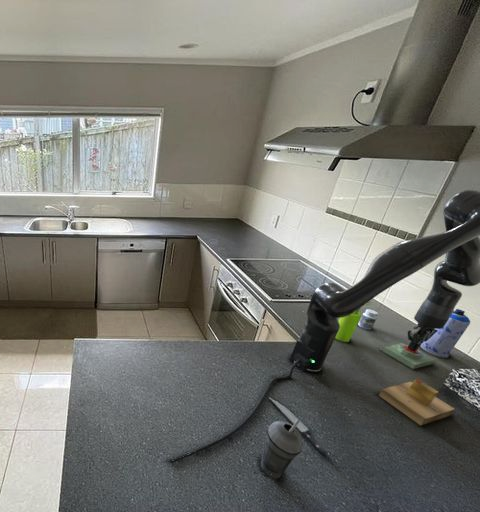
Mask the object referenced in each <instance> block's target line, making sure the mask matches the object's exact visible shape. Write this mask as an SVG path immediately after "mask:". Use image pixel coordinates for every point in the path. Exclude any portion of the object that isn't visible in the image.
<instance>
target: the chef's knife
mask: <svg viewBox="0 0 480 512" xmlns="http://www.w3.org/2000/svg"><path fill="white" fill-rule="evenodd" d="M269 400H270V401H271V402H272V403H273V404H274V405H275V406H276V407H277V408H278V410H279V411H280V412H281V413H282V414H283V415H284V416H285V417H286V418H287V419H288V420H289V421H290V422H291V424H292V425H294V423H295V422H296V421H297V419H298V417H297V416H296V415H295V414H294V413H293V412H291V411H290V410H289V409H288V408H287V407H285V405H282V404H281V403H280V402H278V401H277V400H275V399H273V398H271V397H269ZM295 428H296V429H297V430H298V431H299V433H300V434H301V435H303V436H304V437H305V438H306V439H307V440H308V441H309V442H310V443H311V445H313V447H314V448H316V450H317V451H318V452H319V453H320V454H321V455H322V456H323V457H327V452H326V451H325V450H324V449H323V448H322V447H320V446H319V444H318V443H316V442H315V440H314V439H313V438H312V437H311V436H310V435H309V434H308V431H309V430H310V429H309V428H308V427H307V426H306V425H305V424H304V423H302V421H301V420H300V422H299V423H298V424H297V426H296V427H295Z"/></svg>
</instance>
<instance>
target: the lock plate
mask: <svg viewBox="0 0 480 512" xmlns="http://www.w3.org/2000/svg"><path fill="white" fill-rule="evenodd" d="M413 382H414V381H413ZM413 382H412V381H407V382H403V383H399V384H397V385H392V386H389V387H386V388H382V389H381V391H380V393H379V394H378V396H379V397H380V398H381V399H382V400H384V401H386V402H387V403H388V404H390V405H391V406H393V408H395V409H397V410H398V411H400V412H401V413H402V414H404V415H405V416H407V417H408V418H409V419H411V420H412V421H414V422H415V423H416V424H417V425H419V426H423V425H426V424H430V423H432V422H435V421H438V420H441V419H445V418H447V417H450V416H452V414H453V413H454V411H455V410H456V408H454V407H453V406H451V405H450V404H448V403H446V402H445V401H443V400H441V399H440V398H438V397H437V396H436V397H435V398H434V399H433V401H432V402H431V404H430V405H427V406H426V405H424V404H423V403H421V402H420V401H418V400H417V399H415V398H413V397H412V396H410V395H409V394H407V391H408V389H409V388H410V386H411V385H412V383H413Z"/></svg>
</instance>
